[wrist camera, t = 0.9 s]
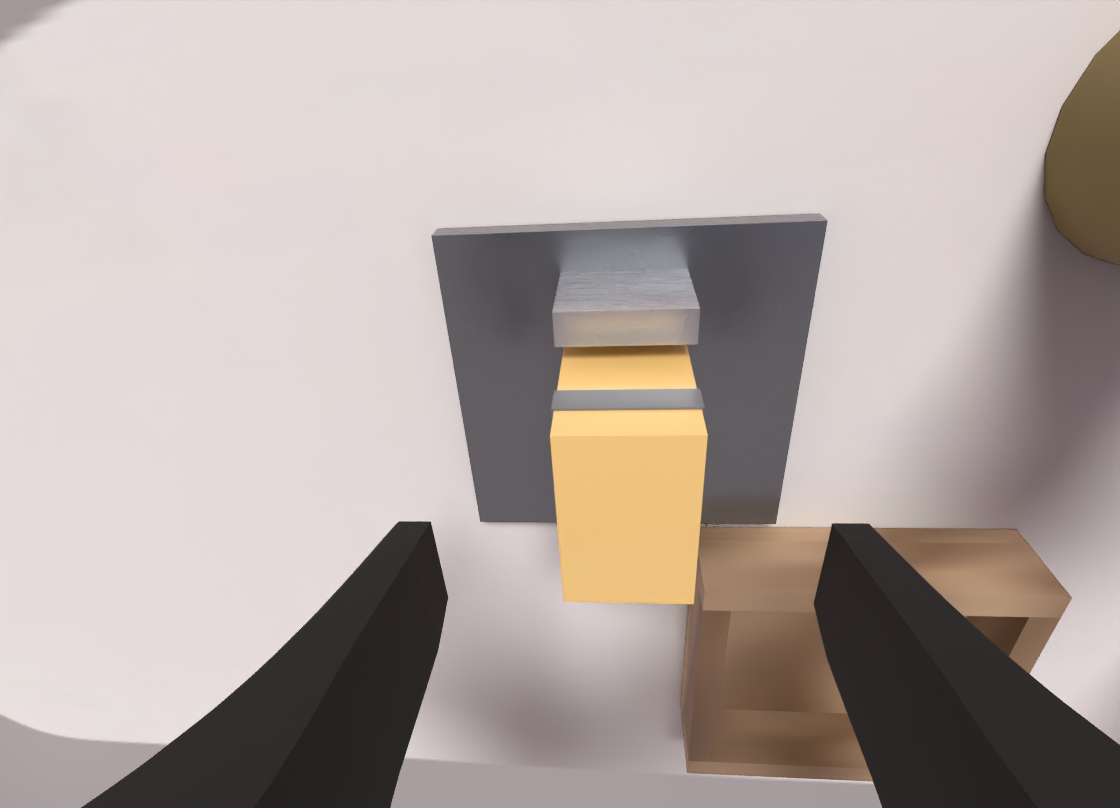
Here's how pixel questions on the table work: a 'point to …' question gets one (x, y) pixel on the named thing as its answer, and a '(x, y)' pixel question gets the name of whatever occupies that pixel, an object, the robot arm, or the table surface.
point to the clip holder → (631, 340)
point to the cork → (1089, 160)
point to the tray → (797, 648)
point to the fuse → (628, 473)
